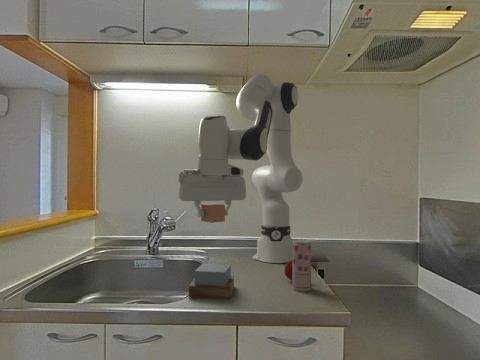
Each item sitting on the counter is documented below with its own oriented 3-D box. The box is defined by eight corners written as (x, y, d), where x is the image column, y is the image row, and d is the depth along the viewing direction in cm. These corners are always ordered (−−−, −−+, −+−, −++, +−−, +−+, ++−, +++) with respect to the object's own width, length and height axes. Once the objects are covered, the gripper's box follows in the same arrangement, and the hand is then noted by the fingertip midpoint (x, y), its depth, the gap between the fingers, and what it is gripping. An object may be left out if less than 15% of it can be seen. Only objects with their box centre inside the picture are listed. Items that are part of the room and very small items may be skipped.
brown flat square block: (196, 287, 125) (196, 275, 125) (233, 288, 124) (233, 275, 124) (188, 299, 113) (188, 286, 113) (230, 300, 112) (230, 287, 112)
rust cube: (214, 219, 121) (214, 203, 121) (224, 221, 117) (224, 204, 117) (201, 221, 118) (201, 204, 118) (211, 222, 114) (211, 205, 114)
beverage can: (288, 287, 124) (289, 239, 123) (304, 285, 126) (304, 238, 126) (298, 292, 118) (299, 243, 118) (314, 290, 121) (314, 241, 120)
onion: (288, 284, 127) (288, 259, 127) (281, 279, 132) (281, 256, 132) (304, 283, 128) (305, 258, 128) (297, 278, 134) (297, 255, 134)
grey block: (202, 276, 123) (202, 263, 123) (230, 277, 122) (230, 265, 122) (194, 284, 114) (194, 271, 114) (224, 286, 113) (225, 272, 113)
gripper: (181, 169, 110) (181, 218, 111) (248, 169, 118) (248, 215, 118) (176, 169, 116) (176, 216, 116) (240, 169, 124) (240, 213, 124)
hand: (212, 215), depth 117 cm, fingers closed on rust cube, 6 cm apart
